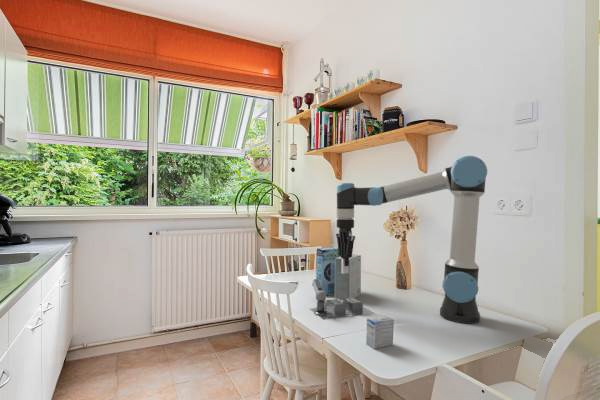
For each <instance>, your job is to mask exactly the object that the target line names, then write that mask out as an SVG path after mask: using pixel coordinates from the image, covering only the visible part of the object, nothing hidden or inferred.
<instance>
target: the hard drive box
mask: <svg viewBox="0 0 600 400" xmlns="http://www.w3.org/2000/svg"><path fill="white" fill-rule="evenodd" d="M341 266H342V258H341V256H340V257H337V258H335V293H334V299H337V300H340V301H343V299H344V298H356V297H359V296H360V295H361V294H362V289H361V287H362V286H361V285H362V278H361V277H362V255H361V254H353V253H352V257H350V258H349V273H346V274H343V273H341Z"/></svg>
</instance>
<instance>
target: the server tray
mask: <svg viewBox="0 0 600 400" xmlns="http://www.w3.org/2000/svg"><path fill="white" fill-rule="evenodd" d="M325 301H326V300H322V301H321V300H316V302H317V303H316V307H315V308H313V307H312V308H309V310H310V311H311V312H313V313H314V315H316V316H318V317H320V318H321V320H333V319H340V318H341V319H343V318H349V317H350V318H351V317H359V316H369V315H375V314H376V312H374V311H372V310H370V309H368V308H367V307H365V306H363V312H361V313H353V314H352V313H350V312H349V311H347V310H346V314H344V315H333V314H332V313H331V312H329V311H328V310H326V306H325ZM376 315H377V314H376Z"/></svg>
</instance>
